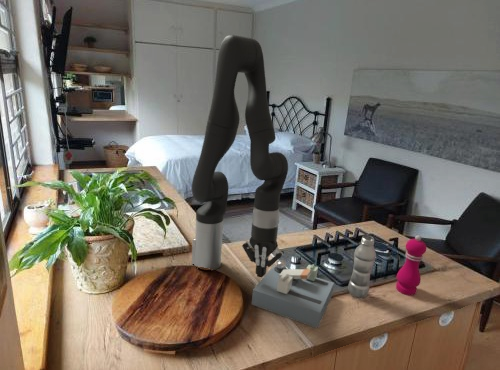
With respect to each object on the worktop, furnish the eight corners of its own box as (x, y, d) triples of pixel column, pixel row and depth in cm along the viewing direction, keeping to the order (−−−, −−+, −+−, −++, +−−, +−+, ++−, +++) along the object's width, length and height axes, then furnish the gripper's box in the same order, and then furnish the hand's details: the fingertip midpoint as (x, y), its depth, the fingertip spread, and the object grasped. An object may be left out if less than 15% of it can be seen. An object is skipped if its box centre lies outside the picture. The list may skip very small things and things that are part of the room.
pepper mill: (390, 289, 118) (403, 234, 112) (399, 281, 123) (411, 228, 117) (412, 299, 114) (426, 242, 108) (420, 290, 119) (434, 236, 113)
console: (251, 304, 104) (253, 285, 102) (273, 277, 119) (274, 261, 117) (317, 328, 96) (320, 308, 95) (331, 296, 111) (334, 278, 110)
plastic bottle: (345, 297, 111) (356, 240, 105) (347, 286, 117) (358, 231, 112) (367, 303, 109) (379, 244, 103) (368, 292, 115) (379, 236, 110)
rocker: (279, 279, 108) (278, 275, 108) (284, 272, 112) (283, 268, 112) (307, 279, 104) (306, 275, 104) (311, 272, 108) (311, 268, 108)
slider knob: (276, 290, 102) (278, 278, 101) (281, 284, 106) (283, 272, 105) (286, 294, 101) (288, 281, 100) (291, 287, 105) (292, 275, 103)
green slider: (304, 278, 110) (306, 266, 109) (307, 274, 112) (309, 262, 111) (314, 281, 109) (315, 269, 108) (316, 277, 111) (318, 265, 110)
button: (274, 268, 114) (275, 262, 113) (278, 265, 116) (278, 259, 116) (283, 271, 113) (284, 265, 112) (286, 267, 115) (287, 261, 115)
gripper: (238, 221, 100) (235, 275, 105) (282, 231, 95) (276, 288, 100) (249, 213, 107) (246, 264, 112) (291, 223, 102) (285, 276, 106)
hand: (260, 275), depth 106 cm, fingers closed
